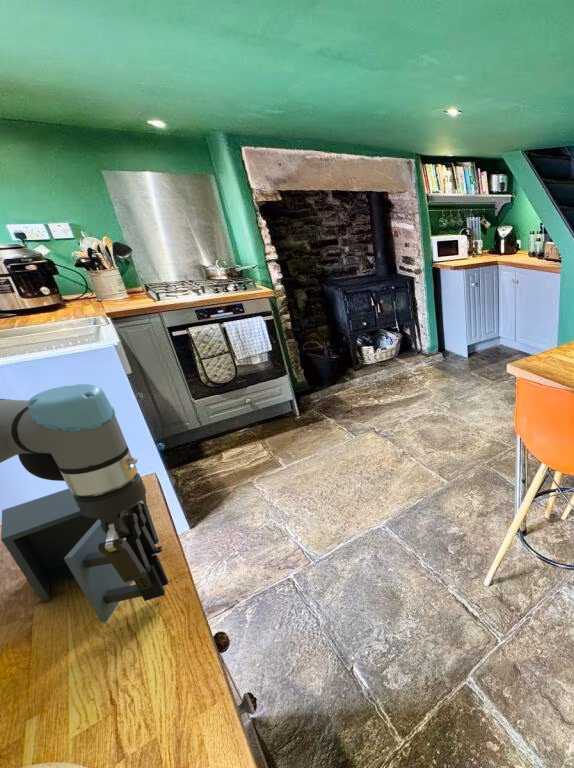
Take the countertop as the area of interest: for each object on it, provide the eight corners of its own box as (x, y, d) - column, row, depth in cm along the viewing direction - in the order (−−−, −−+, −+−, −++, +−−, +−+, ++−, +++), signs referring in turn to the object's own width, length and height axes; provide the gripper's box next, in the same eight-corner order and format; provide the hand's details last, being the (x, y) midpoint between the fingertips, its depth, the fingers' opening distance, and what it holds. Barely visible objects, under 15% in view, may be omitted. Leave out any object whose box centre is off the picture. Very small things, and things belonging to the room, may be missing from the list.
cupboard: (146, 560, 81) (116, 497, 75) (44, 607, 72) (0, 539, 65) (137, 535, 87) (109, 475, 81) (42, 575, 78) (1, 510, 71)
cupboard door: (186, 554, 83) (161, 493, 76) (154, 615, 70) (121, 548, 64) (143, 562, 81) (114, 500, 74) (102, 626, 68) (63, 558, 62)
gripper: (122, 505, 57) (173, 617, 67) (151, 452, 69) (191, 554, 79) (49, 521, 54) (114, 636, 64) (93, 463, 66) (142, 567, 76)
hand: (156, 590), depth 71 cm, fingers closed on cupboard door, 2 cm apart
